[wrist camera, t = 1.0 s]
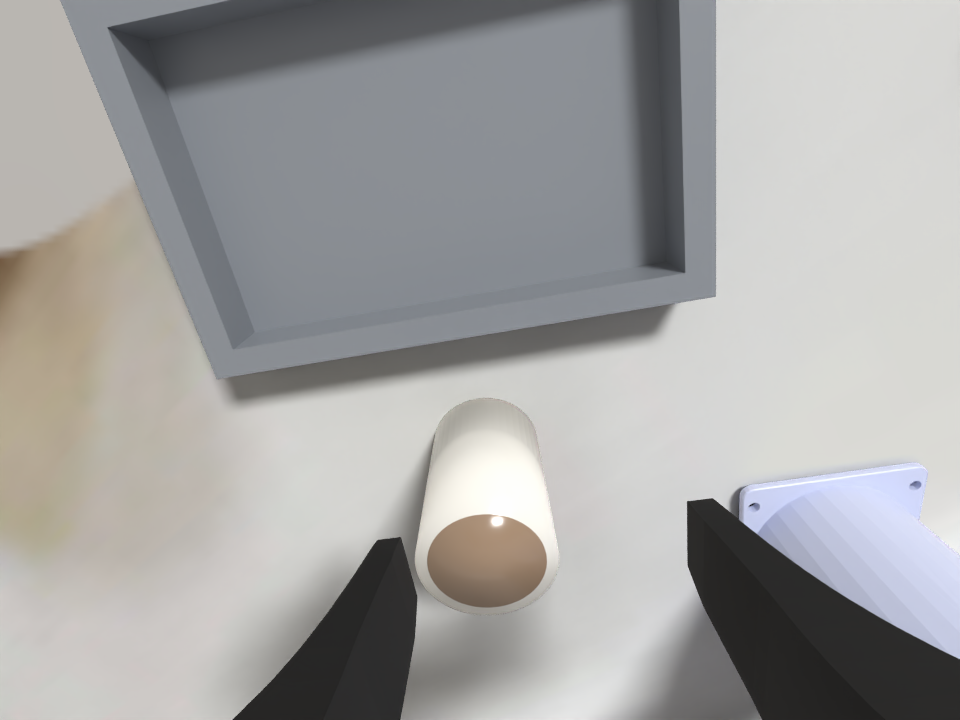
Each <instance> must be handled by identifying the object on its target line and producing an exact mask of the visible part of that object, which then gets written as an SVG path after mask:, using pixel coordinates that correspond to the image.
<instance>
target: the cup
mask: <svg viewBox="0 0 960 720" xmlns="http://www.w3.org/2000/svg"><path fill="white" fill-rule="evenodd" d="M415 567H416V572H417V574H418V577H419V579H420V581H421V583H422V585H423V586H424V587H425V589H426V590H427V591H428V592H429V593H430V594H431V595H432V596H433V597H434V598H436V599H437V600H438V601H440V602H441V603H443V604H445V605H446V606H448V607H451V608H453V609H455V610H458V611H461V612H465V613H470V614H476V615H499V614H504V613H509V612H513V611H516V610H519V609H521V608H524V607H526V606H528V605H530V604H531V603H533V602H534V601H536V600H537V599H539V598H540V597H541V596H542V595H543V594H544V593H545V592H546V591H547V590H548V589H549V588H550V586H551V585H552V583H553V582H554V579H555V577H556V575H557V572H558V568H559V550H558V545H557V539H556V534H555V529H554V524H553V518H552V513H551V508H550V502H549V497H548V492H547V486H546V481H545V476H544V470H543V465H542V460H541V454H540V449H539V444H538V438H537V434H536V430H535V428H534V425H533V423H532V422H531V420H530V419H529V417H528V416H527V415H526V414H525V413H524V412H523V411H522V410H520V409H519V408H518V407H516V406H514V405H513V404H511V403H508V402H506V401H503V400H499V399H493V398H479V399H473V400H469V401H466V402H463V403H461V404H459V405H457V406H456V407H454V408H453V409H451V410H450V411H449V412H448V413H447V414H446V415H445V416H444V417H443V418H442V420H441V421H440V423H439V425H438V427H437V430H436V433H435V438H434V444H433V450H432V456H431V462H430V468H429V473H428V479H427V485H426V491H425V497H424V503H423V509H422V515H421V521H420V527H419V533H418V539H417V545H416V551H415Z"/></svg>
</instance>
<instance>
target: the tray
mask: <svg viewBox="0 0 960 720" xmlns="http://www.w3.org/2000/svg"><path fill="white" fill-rule="evenodd" d="M61 3H62V6H63V8H64V10H65V13H66V15H67V18H68V20H69V22H70V25H71V27H72V30H73V32H74V35H75V37H76V40H77V42H78V44H79V47H80V49H81V52H82V54H83V56H84V59H85V61H86V64H87V66H88V69H89V71H90V73H91V76H92V78H93V81H94V83H95V85H96V88H97V90H98V93H99V95H100V97H101V100H102V102H103V105H104V107H105V110H106V112H107V115H108V117H109V119H110V122H111V124H112V127H113V129H114V131H115V134H116V136H117V139H118V141H119V143H120V146H121V148H122V151H123V153H124V155H125V158H126V161H127V163H128V165H129V168H130V170H131V173H132V175H133V177H134V180H135V182H136V185H137V187H138V190H139V192H140V194H141V197H142V199H143V202H144V204H145V207H146V209H147V211H148V214H149V216H150V219H151V221H152V223H153V226H154V228H155V231H156V233H157V236H158V238H159V240H160V243H161V245H162V248H163V250H164V252H165V255H166V257H167V260H168V262H169V265H170V267H171V269H172V272H173V274H174V277H175V279H176V282H177V284H178V286H179V289H180V291H181V294H182V296H183V298H184V301H185V303H186V306H187V308H188V311H189V313H190V315H191V318H192V320H193V323H194V325H195V328H196V330H197V332H198V335H199V337H200V340H201V342H202V344H203V347H204V349H205V352H206V354H207V357H208V359H209V361H210V364H211V366H212V369H213V371H214V374H215V376H216V378H217V379H221V378H227V377H233V376H239V375H245V374H251V373H257V372H263V371H269V370H275V369H282V368H288V367H294V366H300V365H306V364H312V363H318V362H324V361H330V360H336V359H342V358H348V357H354V356H360V355H366V354H372V353H378V352H384V351H390V350H396V349H402V348H408V347H414V346H421V345H427V344H433V343H439V342H445V341H451V340H457V339H463V338H469V337H475V336H481V335H487V334H493V333H499V332H505V331H511V330H517V329H523V328H529V327H535V326H541V325H547V324H553V323H560V322H566V321H572V320H578V319H584V318H590V317H596V316H602V315H608V314H614V313H620V312H626V311H632V310H638V309H644V308H650V307H656V306H662V305H668V304H674V303H680V302H686V301H692V300H698V299H705V298H711V297H716V0H61Z"/></svg>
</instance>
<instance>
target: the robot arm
mask: <svg viewBox="0 0 960 720" xmlns="http://www.w3.org/2000/svg"><path fill="white" fill-rule="evenodd" d="M927 476H928V471H927V469H926V468H925V467H924V466H922V465H921V464H919V463H905V464H898V465H891V466H884V467H877V468H869V469H862V470H855V471H848V472H841V473H833V474H826V475H819V476H812V477H805V478H797V479H790V480H783V481H776V482H769V483H761V484H754V485H749V486H746V487H745V488H743V489H742V491H741V492H740V496H739V519H738V518H736V517H735V516H734V515H733V514H732V513H730V512H729V511H728V510H727V509H725V508H724V507H723V506H722V505H720V504H719V503H718V502H717V501H715V500H714V499H713V498H711V499H703V500H695V501H687V550H688V568H689V570H690V573H691V576H692V578H693V581H694V583H695V586H696V589H697V591H698V594H699V596H700V599H701V601H702V604H703V606H704V608H705V610H706V612H707V614H708V616H709V618H710V620H711V622H712V624H713V626H714V627H715V629H716V631H717V633H718V635H719V637H720V639H721V641H722V643H723V645H724V646H725V648H726V650H727V652H728V654H729V656H730V658H731V660H732V662H733V664H734V665H735V667H736V669H737V671H738V673H739V675H740V677H741V679H742V681H743V682H744V684H745V686H746V688H747V690H748V692H749V694H750V696H751V698H752V700H753V702H754V704H755V706H756V708H757V710H758V712H759V714H760V716H761V718H762V720H960V555H959V554H958V553H956V552H955V551H954V550H953V549H952V548H951V547H949V546H948V545H947V544H946V543H945V542H943V541H942V540H941V539H940V538H939V537H938V536H936V535H935V534H934V533H933V532H932V531H931V530H929V529H928V528H927V527H926V526H925V525H924V524H922V523H921V522H920V521H919V518H920V513H921V508H922V503H923V497H924V492H925V487H926V482H927ZM912 482H913V483H912ZM911 483H912V484H911ZM752 503H755V504H754V505H753V506H750V507H749V505H751V504H752ZM416 611H417V594H416V590H415V587H414V583H413V579H412V576H411V572H410V569H409V565H408V561H407V558H406V554H405V551H404V547H403V544H402V540H401V537H398V538H390V539H382V540H377V541H376V543H375V544H374V545H373V547H372V548H371V550H370V551H369V553H368V554H367V556H366V557H365V559H364V561H363V562H362V564H361V565H360V567H359V568H358V570H357V571H356V573H355V574H354V576H353V577H352V579H351V580H350V582H349V583H348V585H347V586H346V588H345V589H344V590H343V592H342V593H341V595H340V596H339V598H338V599H337V600H336V602H335V603H334V605H333V606H332V608H331V609H330V610H329V612H328V613H327V614H326V616H325V617H324V618H323V620H322V621H321V622H320V623H319V625H318V626H317V627H316V629H315V630H314V631H313V633H312V634H311V635H310V636H309V638H308V639H307V640H306V642H305V643H304V644H303V645H302V647H301V648H300V649H299V650H298V651H297V653H296V654H295V655H294V656H293V657H292V658H291V660H290V661H289V662H288V663H287V664H286V665H285V666H284V668H283V669H282V670H281V671H280V672H279V673H278V674H277V675H276V677H275V678H274V679H273V680H272V681H271V682H270V683H269V684H268V685H267V686H266V687H265V688H264V689H263V690H262V691H261V692H260V693H259V694H258V695H257V696H256V697H255V698H254V699H253V700H252V701H251V702H250V703H249V704H248V705H247V706H246V707H245V708H244V709H243V710H242V711H241V712H240V713H239V714H238V715H237V716H236V717H235V718H234V719H233V720H400V718H401V712H402V707H403V701H404V696H405V690H406V685H407V679H408V674H409V668H410V662H411V657H412V651H413V645H414V639H415V627H416Z"/></svg>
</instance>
